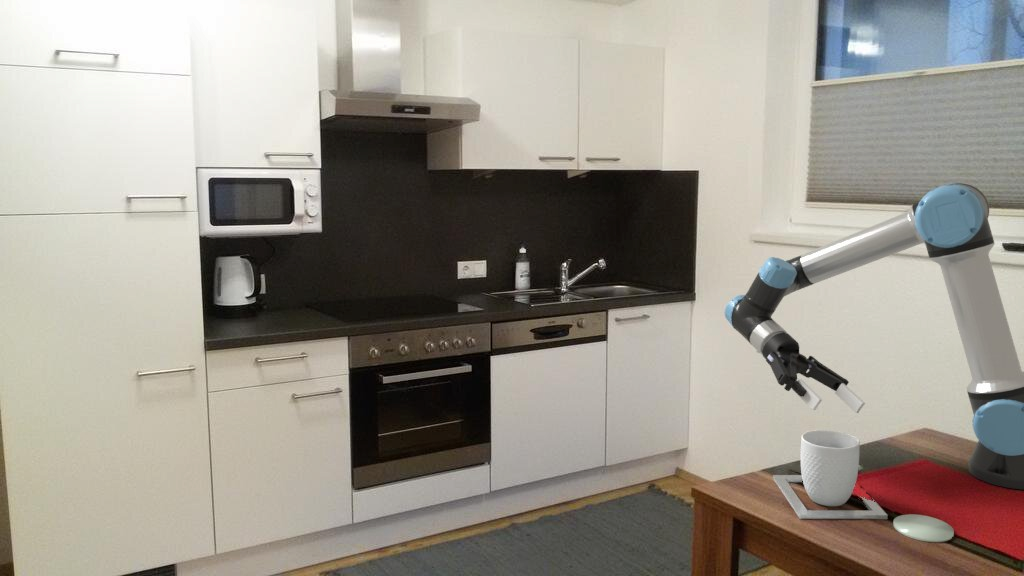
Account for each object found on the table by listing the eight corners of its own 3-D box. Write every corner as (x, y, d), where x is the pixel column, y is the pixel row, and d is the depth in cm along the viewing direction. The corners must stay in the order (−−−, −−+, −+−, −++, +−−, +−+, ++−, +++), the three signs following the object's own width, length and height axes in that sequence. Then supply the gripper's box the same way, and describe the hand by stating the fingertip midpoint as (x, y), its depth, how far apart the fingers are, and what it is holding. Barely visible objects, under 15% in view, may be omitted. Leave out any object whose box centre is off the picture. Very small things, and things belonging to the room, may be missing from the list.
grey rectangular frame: (850, 478, 170) (850, 475, 170) (887, 519, 151) (887, 515, 151) (772, 478, 171) (773, 475, 171) (799, 518, 152) (800, 514, 152)
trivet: (938, 517, 151) (938, 514, 151) (964, 542, 141) (964, 539, 141) (884, 517, 152) (884, 514, 152) (907, 542, 142) (907, 538, 142)
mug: (791, 480, 170) (793, 422, 168) (845, 482, 168) (847, 424, 166) (804, 510, 156) (806, 447, 154) (863, 513, 154) (866, 449, 152)
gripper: (803, 362, 185) (867, 422, 169) (727, 353, 172) (788, 417, 156) (820, 336, 182) (887, 395, 166) (744, 325, 169) (808, 388, 153)
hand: (839, 406), depth 161 cm, fingers open, 13 cm apart
